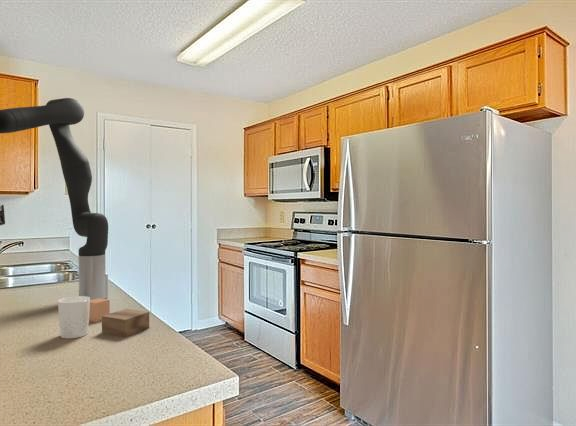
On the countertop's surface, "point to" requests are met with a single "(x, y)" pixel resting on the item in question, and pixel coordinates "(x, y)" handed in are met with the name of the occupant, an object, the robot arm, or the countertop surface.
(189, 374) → the countertop surface
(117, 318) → the walnut block
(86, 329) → the white cup
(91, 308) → the terracotta block
